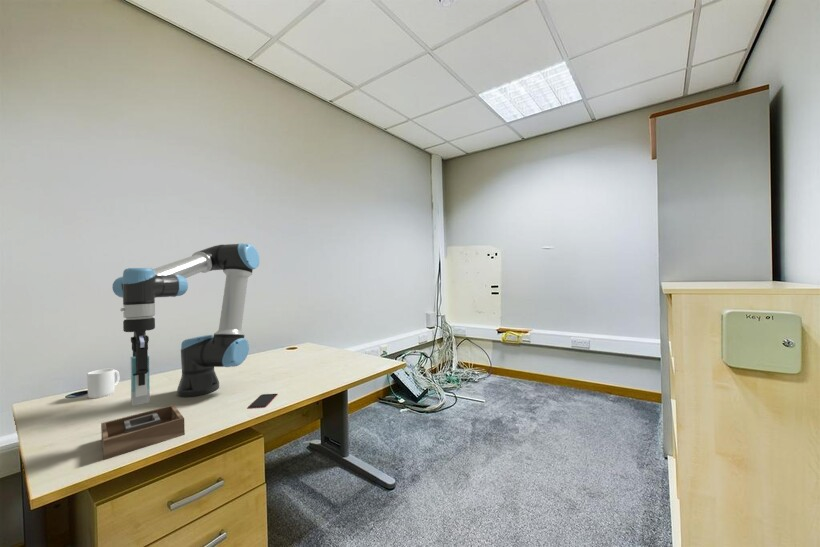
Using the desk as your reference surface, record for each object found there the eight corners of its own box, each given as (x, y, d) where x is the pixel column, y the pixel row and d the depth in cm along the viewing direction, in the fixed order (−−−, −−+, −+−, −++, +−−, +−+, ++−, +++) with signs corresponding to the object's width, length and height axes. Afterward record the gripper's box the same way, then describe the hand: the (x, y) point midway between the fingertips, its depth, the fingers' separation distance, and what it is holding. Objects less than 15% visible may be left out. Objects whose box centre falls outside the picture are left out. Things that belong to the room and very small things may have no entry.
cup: (82, 398, 133) (81, 374, 133) (110, 388, 145) (110, 366, 145) (101, 398, 132) (100, 374, 133) (128, 388, 144) (127, 365, 144)
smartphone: (278, 393, 132) (265, 407, 118) (278, 394, 132) (265, 408, 118) (261, 394, 131) (246, 408, 117) (261, 395, 131) (246, 409, 117)
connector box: (101, 439, 97) (101, 423, 97) (174, 419, 110) (174, 404, 110) (103, 459, 86) (103, 441, 86) (184, 434, 99) (184, 418, 99)
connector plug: (131, 402, 99) (130, 356, 99) (147, 398, 102) (147, 354, 102) (132, 405, 96) (132, 358, 97) (149, 401, 99) (149, 356, 99)
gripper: (120, 317, 103) (121, 390, 103) (125, 321, 91) (126, 404, 91) (150, 315, 108) (151, 384, 108) (159, 318, 96) (160, 396, 96)
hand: (140, 393), depth 99 cm, fingers closed on connector plug, 4 cm apart
